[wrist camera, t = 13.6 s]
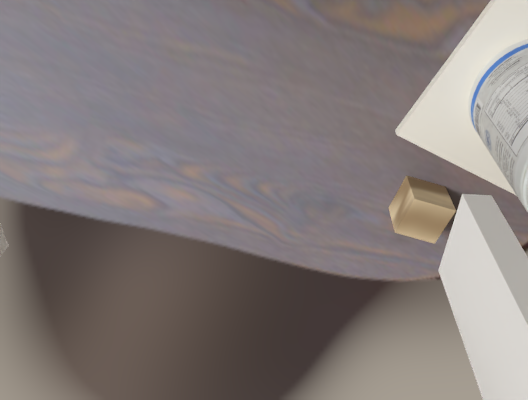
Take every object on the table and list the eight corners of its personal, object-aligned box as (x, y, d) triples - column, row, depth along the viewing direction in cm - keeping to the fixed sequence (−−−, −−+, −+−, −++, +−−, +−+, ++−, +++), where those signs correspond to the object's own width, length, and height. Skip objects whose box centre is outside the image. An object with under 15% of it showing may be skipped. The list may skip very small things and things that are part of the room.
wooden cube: (406, 175, 46) (414, 198, 42) (446, 186, 46) (457, 211, 43) (388, 207, 48) (394, 232, 45) (426, 218, 48) (436, 243, 45)
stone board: (526, -49, 34) (530, -47, 34) (667, 42, 37) (674, 45, 37) (394, 130, 43) (396, 134, 42) (518, 193, 46) (521, 197, 45)
